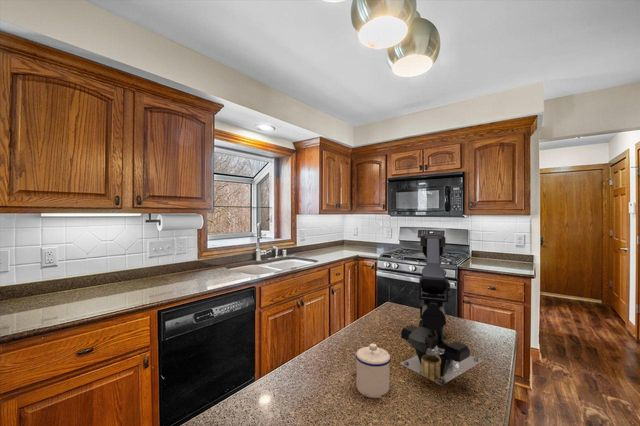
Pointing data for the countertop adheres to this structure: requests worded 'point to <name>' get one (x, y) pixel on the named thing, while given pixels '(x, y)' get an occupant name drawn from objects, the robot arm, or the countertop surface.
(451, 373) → the carrier plate
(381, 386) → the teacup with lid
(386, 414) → the countertop surface
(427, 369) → the planet gear
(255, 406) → the countertop surface
